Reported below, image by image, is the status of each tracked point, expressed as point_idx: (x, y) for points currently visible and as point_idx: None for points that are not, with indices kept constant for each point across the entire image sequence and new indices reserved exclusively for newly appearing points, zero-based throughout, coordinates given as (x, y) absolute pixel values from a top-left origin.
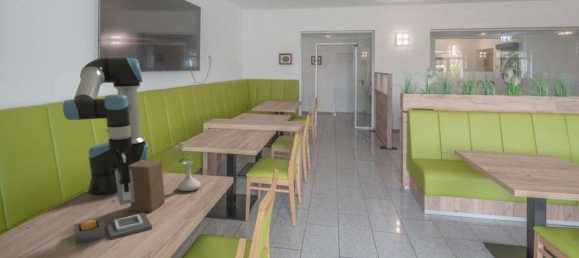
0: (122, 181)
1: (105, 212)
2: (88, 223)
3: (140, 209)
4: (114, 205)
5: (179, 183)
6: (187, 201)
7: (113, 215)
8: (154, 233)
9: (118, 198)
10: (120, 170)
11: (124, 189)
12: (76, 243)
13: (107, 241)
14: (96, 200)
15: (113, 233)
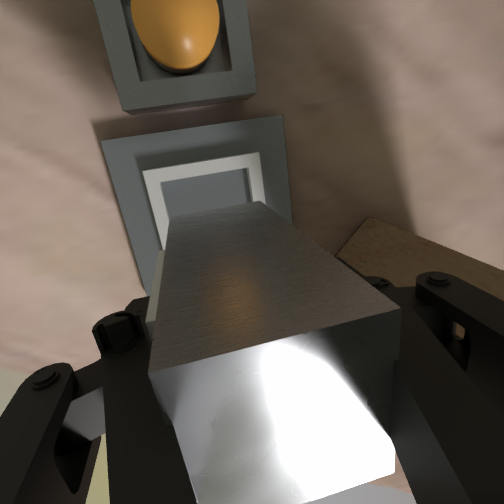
0: (32, 388)
1: (409, 105)
2: (172, 14)
3: (341, 254)
4: (461, 143)
5: None
6: None
7: (357, 142)
8: (103, 308)
9: (230, 212)
10: (157, 489)
11: (137, 311)
12: None
13: (87, 126)
14: None
15: (127, 153)
